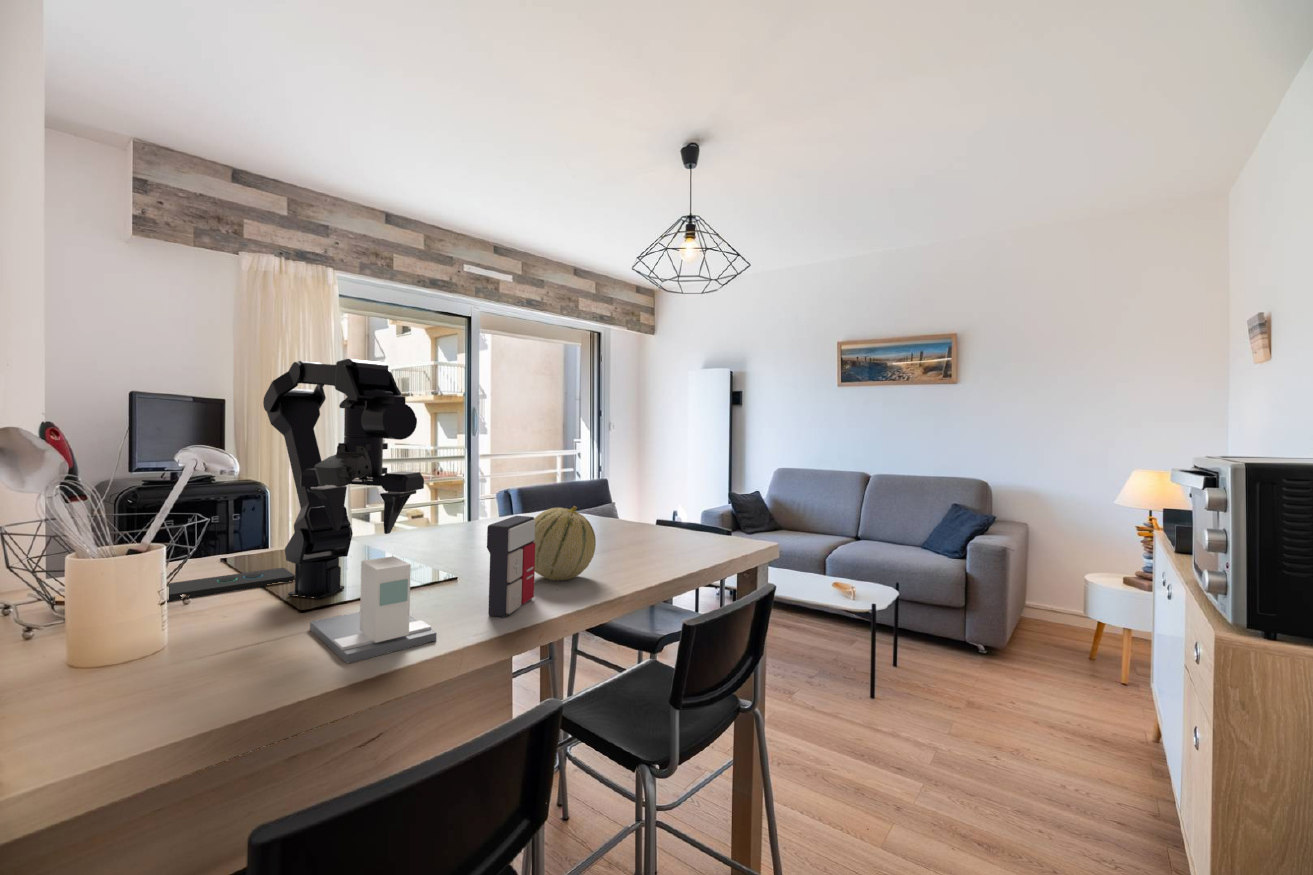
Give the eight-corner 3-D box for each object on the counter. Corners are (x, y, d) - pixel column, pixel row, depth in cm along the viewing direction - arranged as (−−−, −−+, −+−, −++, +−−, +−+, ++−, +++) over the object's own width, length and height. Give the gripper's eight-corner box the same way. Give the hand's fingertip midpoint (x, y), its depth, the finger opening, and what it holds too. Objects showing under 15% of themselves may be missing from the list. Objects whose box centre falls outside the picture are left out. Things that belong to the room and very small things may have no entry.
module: (359, 630, 82) (361, 560, 82) (392, 623, 86) (393, 556, 85) (376, 643, 78) (378, 569, 78) (409, 635, 81) (411, 564, 81)
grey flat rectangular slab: (346, 663, 75) (347, 651, 75) (310, 629, 86) (310, 618, 86) (436, 640, 84) (436, 629, 84) (392, 612, 95) (392, 602, 95)
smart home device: (296, 575, 110) (158, 595, 95) (295, 584, 110) (157, 605, 95) (283, 566, 116) (151, 584, 101) (283, 575, 116) (151, 594, 101)
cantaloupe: (511, 574, 120) (513, 502, 120) (575, 566, 128) (577, 499, 128) (538, 593, 108) (540, 513, 108) (607, 583, 116) (610, 509, 116)
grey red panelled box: (508, 618, 94) (511, 527, 94) (484, 616, 95) (487, 525, 94) (536, 599, 105) (538, 516, 104) (514, 596, 106) (516, 515, 105)
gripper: (273, 435, 88) (271, 537, 89) (385, 440, 85) (382, 545, 86) (326, 434, 99) (324, 525, 100) (426, 438, 96) (424, 532, 97)
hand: (361, 531), depth 95 cm, fingers open, 9 cm apart
